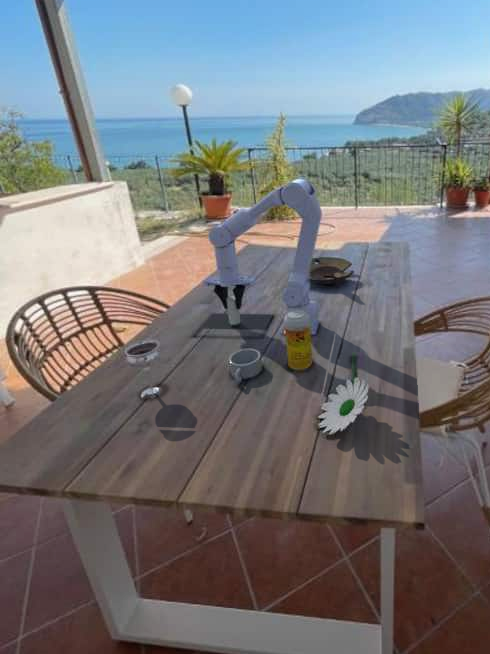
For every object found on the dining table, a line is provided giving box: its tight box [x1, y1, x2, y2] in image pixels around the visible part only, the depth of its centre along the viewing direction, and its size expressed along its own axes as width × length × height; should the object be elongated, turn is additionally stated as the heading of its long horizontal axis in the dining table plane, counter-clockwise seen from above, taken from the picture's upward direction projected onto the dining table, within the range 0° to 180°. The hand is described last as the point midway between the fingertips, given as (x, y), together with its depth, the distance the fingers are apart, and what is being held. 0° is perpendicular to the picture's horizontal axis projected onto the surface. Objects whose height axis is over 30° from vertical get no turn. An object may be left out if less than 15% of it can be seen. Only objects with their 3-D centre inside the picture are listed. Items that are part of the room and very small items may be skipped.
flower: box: [317, 355, 370, 436], centre depth 88 cm, size 13×6×30 cm
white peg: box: [226, 295, 241, 325], centre depth 117 cm, size 3×3×8 cm
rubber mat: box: [192, 313, 274, 338], centre depth 119 cm, size 20×14×1 cm
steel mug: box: [228, 348, 263, 386], centre depth 95 cm, size 10×7×4 cm
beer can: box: [283, 308, 313, 371], centre depth 97 cm, size 6×6×15 cm
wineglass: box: [124, 339, 162, 399], centre depth 87 cm, size 7×7×12 cm
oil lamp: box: [309, 256, 355, 286], centre depth 151 cm, size 22×30×8 cm
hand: (233, 307), depth 117 cm, fingers closed on white peg, 3 cm apart
